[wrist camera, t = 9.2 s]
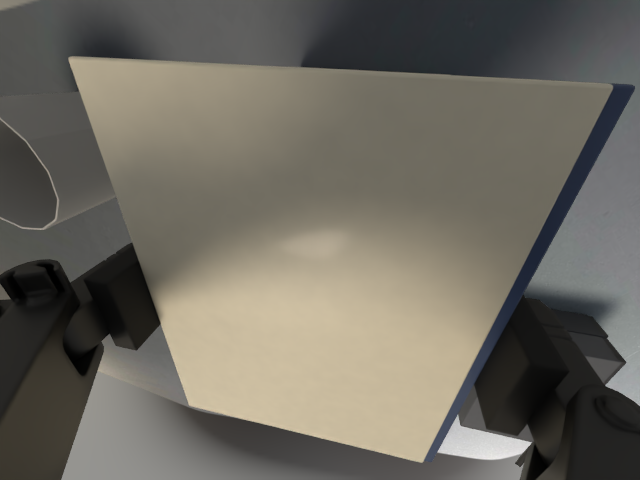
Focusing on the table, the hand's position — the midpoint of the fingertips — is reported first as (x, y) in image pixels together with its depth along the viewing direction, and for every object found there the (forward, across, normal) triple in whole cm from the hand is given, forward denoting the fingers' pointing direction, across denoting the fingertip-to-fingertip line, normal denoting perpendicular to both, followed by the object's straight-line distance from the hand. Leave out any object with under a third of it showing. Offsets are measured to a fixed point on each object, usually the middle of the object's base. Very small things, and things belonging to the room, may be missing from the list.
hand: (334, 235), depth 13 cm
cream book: (-3, 0, 0) cm, 3 cm away
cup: (+12, -22, 0) cm, 25 cm away
